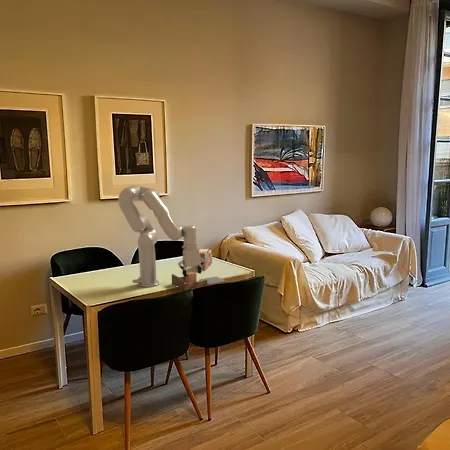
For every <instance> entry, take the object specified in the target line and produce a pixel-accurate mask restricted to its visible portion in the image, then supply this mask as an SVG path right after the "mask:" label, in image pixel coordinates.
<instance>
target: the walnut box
mask: <svg viewBox="0 0 450 450" xmlns="http://www.w3.org/2000/svg"><path fill="white" fill-rule="evenodd" d="M171 284H172V285H173V286H174V285H175V287H176V286H178V287H177V288H178V289H179V290H181V291H188V290H193V289H194V290H195V289H198V288H203V287H208V284H207V280H203V281H201V280H199V281H197V282H191V283H186V284H185V276H183V275H182V276H177V275H176V274H174V273H172V274H171Z"/></svg>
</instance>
